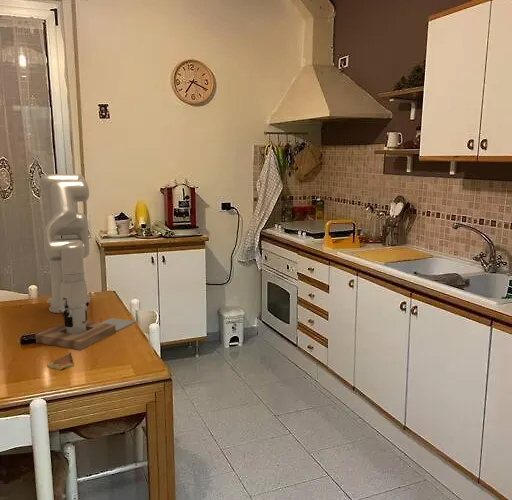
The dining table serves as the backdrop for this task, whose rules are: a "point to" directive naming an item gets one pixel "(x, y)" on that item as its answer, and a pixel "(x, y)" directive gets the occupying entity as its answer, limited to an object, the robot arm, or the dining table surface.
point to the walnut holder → (79, 342)
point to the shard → (62, 362)
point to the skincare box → (78, 321)
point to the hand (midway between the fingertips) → (76, 323)
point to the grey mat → (118, 323)
